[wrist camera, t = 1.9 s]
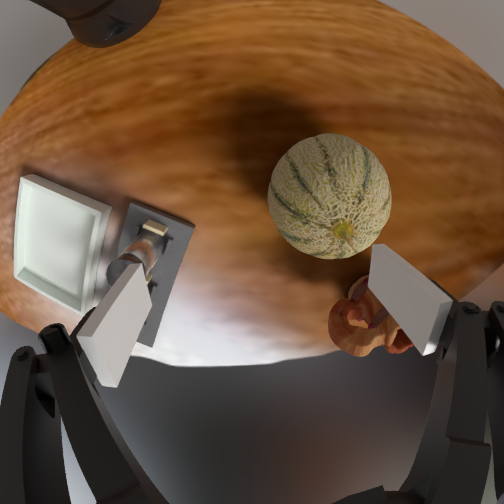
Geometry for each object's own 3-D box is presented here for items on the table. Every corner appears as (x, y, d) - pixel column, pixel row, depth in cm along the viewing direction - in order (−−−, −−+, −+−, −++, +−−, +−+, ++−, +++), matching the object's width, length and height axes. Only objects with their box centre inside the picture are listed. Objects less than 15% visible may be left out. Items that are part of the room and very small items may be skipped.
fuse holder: (105, 322, 44) (97, 334, 41) (133, 200, 37) (123, 206, 33) (154, 342, 46) (149, 356, 43) (195, 225, 39) (191, 234, 35)
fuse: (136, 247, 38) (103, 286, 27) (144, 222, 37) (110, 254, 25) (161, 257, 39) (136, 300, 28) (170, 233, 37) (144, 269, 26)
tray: (23, 269, 40) (14, 277, 36) (33, 173, 33) (20, 176, 30) (92, 306, 43) (84, 317, 40) (111, 206, 37) (101, 212, 34)
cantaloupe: (349, 128, 35) (407, 123, 21) (366, 222, 40) (420, 260, 26) (249, 149, 35) (258, 150, 21) (275, 246, 41) (295, 300, 27)
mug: (393, 266, 43) (442, 312, 29) (384, 305, 46) (424, 357, 32) (315, 271, 43) (348, 328, 29) (310, 313, 46) (336, 376, 32)
